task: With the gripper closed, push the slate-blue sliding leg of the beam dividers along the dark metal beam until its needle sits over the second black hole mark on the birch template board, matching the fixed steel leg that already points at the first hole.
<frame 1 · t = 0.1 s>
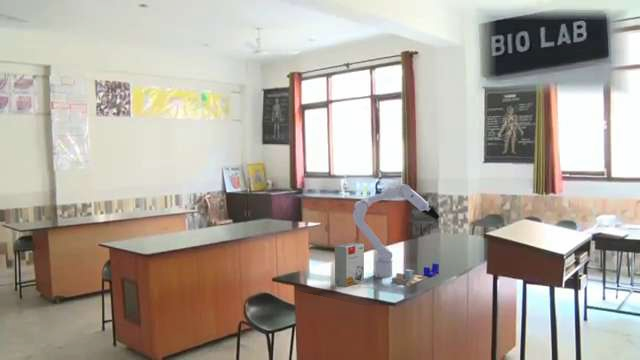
hand: (436, 217, 266), 32 cm above the countertop, tool tilted 50°, fingers open, 7 cm apart
cable clip: (432, 276, 268), on the countertop
hard drive box: (349, 283, 256), on the countertop
template board: (409, 281, 257), on the countertop
sliding leg: (410, 275, 256), point 4 cm above the countertop, slide at 0.0 cm
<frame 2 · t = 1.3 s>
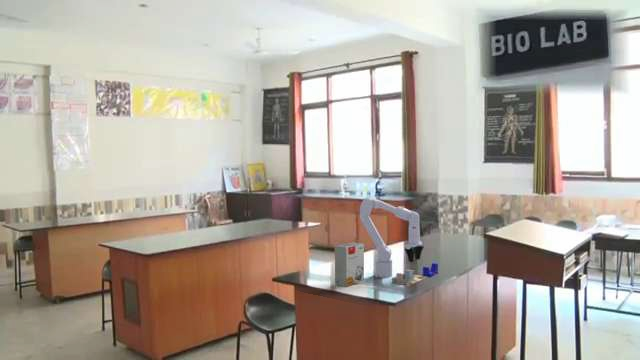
hand: (414, 260, 264), 9 cm above the countertop, tool pointing down, fingers open, 7 cm apart
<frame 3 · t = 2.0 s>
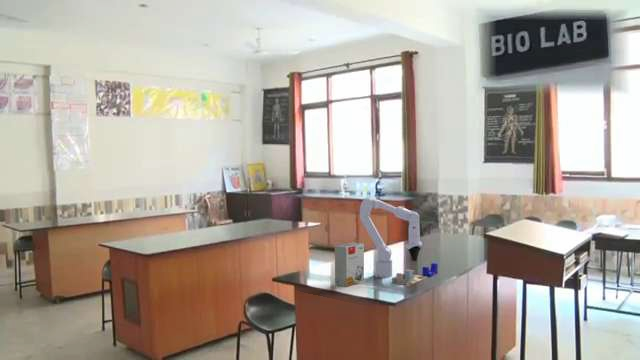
hand: (414, 260, 264), 9 cm above the countertop, tool pointing down, fingers closed
nothing on the countertop moved.
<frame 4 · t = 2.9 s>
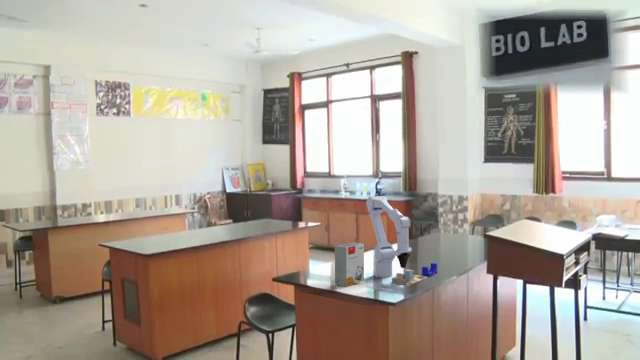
hand: (403, 267, 252), 8 cm above the countertop, tool pointing down, fingers closed
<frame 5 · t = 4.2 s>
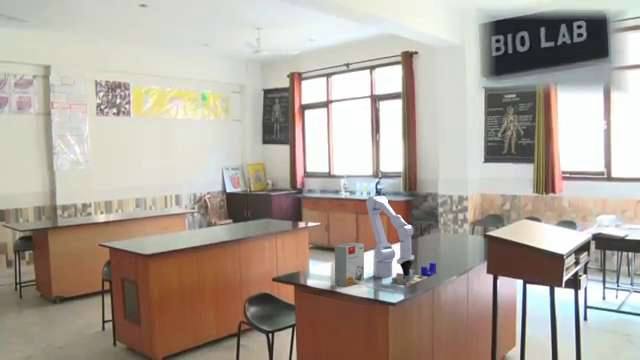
hand: (406, 275, 255), 4 cm above the countertop, tool pointing down, fingers closed
sliding leg: (410, 275, 256), point 4 cm above the countertop, slide at 0.1 cm, touching gripper
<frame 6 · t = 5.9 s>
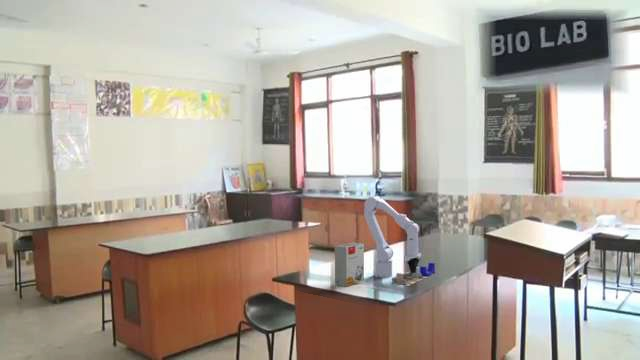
hand: (413, 272, 260), 4 cm above the countertop, tool pointing down, fingers closed
sliding leg: (416, 272, 262), point 4 cm above the countertop, slide at 7.5 cm, touching gripper
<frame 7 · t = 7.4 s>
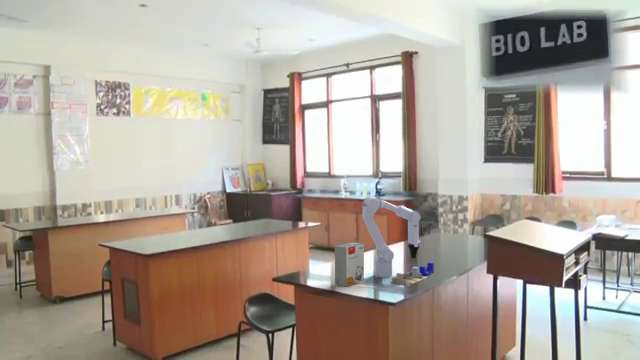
hand: (413, 257, 271), 9 cm above the countertop, tool pointing down, fingers closed
sliding leg: (417, 272, 262), point 4 cm above the countertop, slide at 7.5 cm
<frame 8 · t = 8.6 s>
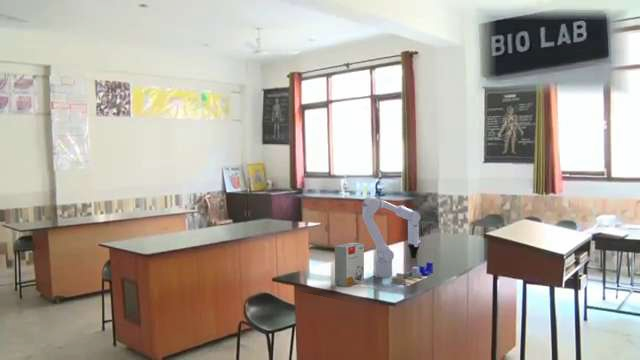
hand: (413, 257, 271), 9 cm above the countertop, tool pointing down, fingers closed
at the end: sliding leg slide at 7.5 cm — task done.
